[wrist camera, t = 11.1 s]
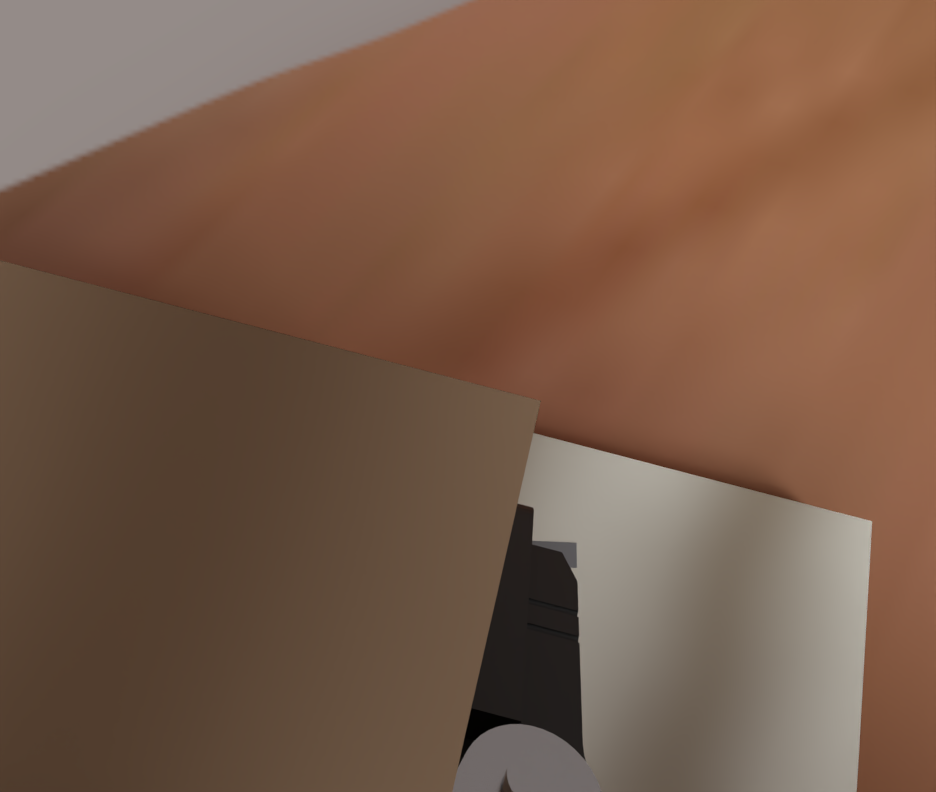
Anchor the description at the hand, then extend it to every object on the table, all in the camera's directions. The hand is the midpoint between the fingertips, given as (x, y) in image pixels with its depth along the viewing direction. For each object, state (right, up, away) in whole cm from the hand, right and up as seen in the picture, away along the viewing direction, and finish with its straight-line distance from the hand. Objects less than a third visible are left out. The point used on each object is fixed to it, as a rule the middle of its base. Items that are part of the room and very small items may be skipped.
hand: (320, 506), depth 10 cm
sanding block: (-1, -3, +3) cm, 4 cm away
